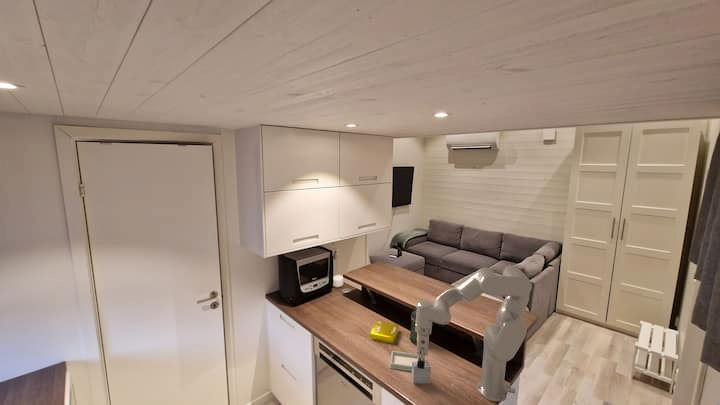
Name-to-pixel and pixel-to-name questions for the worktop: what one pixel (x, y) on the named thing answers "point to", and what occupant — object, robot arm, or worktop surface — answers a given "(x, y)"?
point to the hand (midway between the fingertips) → (420, 361)
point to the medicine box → (421, 373)
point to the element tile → (384, 332)
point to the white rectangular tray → (403, 360)
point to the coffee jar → (413, 328)
